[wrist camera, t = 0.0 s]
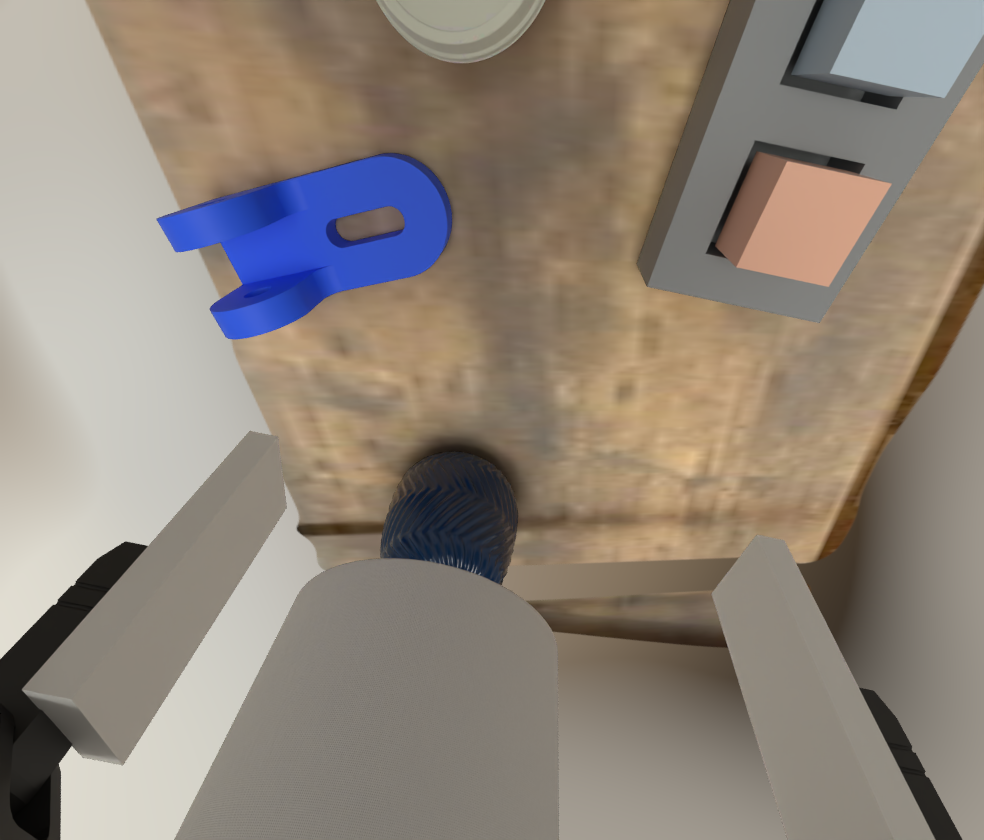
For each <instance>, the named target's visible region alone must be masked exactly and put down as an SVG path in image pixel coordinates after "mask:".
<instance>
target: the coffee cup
mask: <svg viewBox="0 0 984 840" xmlns="http://www.w3.org/2000/svg"><path fill="white" fill-rule="evenodd" d="M376 1H377V3H378V5H379V6H380V8H381V9H382V11H383V13H384V14H385V16H386V17H387V19H388V20H389V22H390V23H391V24H392V25H393V27H394V28H395V29H396V30H397V31H398V32H399V34H400V35H401V36H402V37H403V38H404V39H406V40H407V41H408V42H409V43H410V44H411V45H413V46H414V47H415V48H417V49H418V50H420V51H422V52H423V53H425V54H427V55H429V56H431V57H434V58H436V59H439V60H442V61H446V62H452V63H472V62H477V61H481V60H485V59H487V58H490V57H492V56H495V55H497V54H498V53H500V52H502V51H503V50H505V49H506V48H508V47H509V46H511V45H512V44H513V43H514V42H515V41H516V40H518V39H519V38H520V37H521V36H522V35H523V33H524V32H525V31H526V30H527V29H528V28H529V26H530V25H531V24H532V22H533V21H534V19H535V18H536V16H537V15H538V13H539V12H540V10H541V8H542V6H543V4H544V2H545V0H376Z"/></svg>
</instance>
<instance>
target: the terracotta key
mask: <svg viewBox="0 0 984 840" xmlns="http://www.w3.org/2000/svg"><path fill="white" fill-rule="evenodd" d="M891 185H892V184H891V183H888V182H884V181H881V180H878V179H874V178H871V177H867V176H864V175H860V174H857V173H854V172H850V171H846V170H842V169H837V168H832V167H828V166H823V165H818V164H814V163H809V162H805V161H800V160H795V159H791V158H786V157H781V156H777V155H772V154H767V153H763V152H758V151H757V152H756V154H755V156H754V159H753V161H752V163H751V165H750V168H749V170H748V172H747V174H746V177H745V179H744V181H743V184H742V186H741V188H740V190H739V193H738V195H737V197H736V199H735V202H734V204H733V206H732V208H731V211H730V213H729V215H728V217H727V220H726V222H725V224H724V226H723V229H722V231H721V233H720V235H719V238H718V240H717V242H716V244H715V247H716V248H717V249H718V250H719V251H720V252H721V253H722V254H723V255H724V256H725V257H726V258H727V259H728V260H729V261H730V262H731V263H732V264H733V265H734V266H735V267H737V268H742V269H747V270H751V271H756V272H761V273H765V274H770V275H775V276H780V277H784V278H789V279H794V280H798V281H803V282H808V283H813V284H817V285H822V286H827V287H829V285H830V284H831V282H832V281H833V279H834V277H835V276H836V274H837V272H838V271H839V269H840V268H841V266H842V264H843V263H844V261H845V259H846V258H847V256H848V255H849V253H850V251H851V250H852V248H853V246H854V245H855V243H856V242H857V240H858V238H859V237H860V235H861V233H862V232H863V230H864V229H865V227H866V225H867V224H868V222H869V220H870V219H871V217H872V215H873V214H874V212H875V211H876V209H877V207H878V206H879V204H880V202H881V201H882V199H883V198H884V196H885V194H886V193H887V191H888V189H889V188H890V186H891Z"/></svg>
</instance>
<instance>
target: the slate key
mask: <svg viewBox="0 0 984 840" xmlns="http://www.w3.org/2000/svg"><path fill="white" fill-rule="evenodd" d="M983 35H984V0H824V1H823V3H822V5H821V8H820V10H819V12H818V14H817V17H816V19H815V21H814V23H813V26H812V28H811V30H810V32H809V35H808V37H807V39H806V41H805V44H804V46H803V48H802V51H801V53H800V55H799V57H798V60H797V62H796V64H795V66H794V69H793V71H792V73H791V75H794V76H798V77H803V78H807V79H812V80H817V81H821V82H826V83H830V84H835V85H839V86H844V87H849V88H853V89H858V90H862V91H867V92H872V93H876V94H881V95H885V96H894V97H925V98H945V97H946V95H947V93H948V92H949V90H950V88H951V87H952V85H953V84H954V82H955V80H956V79H957V77H958V75H959V74H960V72H961V71H962V69H963V67H964V66H965V64H966V62H967V61H968V59H969V58H970V56H971V54H972V53H973V51H974V49H975V48H976V46H977V45H978V43H979V41H980V40H981V38H982V36H983Z"/></svg>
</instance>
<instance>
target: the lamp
mask: <svg viewBox="0 0 984 840" xmlns="http://www.w3.org/2000/svg"><path fill="white" fill-rule="evenodd" d="M517 523H518V510H517V506H516V498H515V497H514V491H513V490H512V489H511V484H510V483H508V482H507V478H506V477H505V476H503V475H502V473H501V471H500V470H497V469H496V466H495V465H494V464H490V463H489V461H488V460H485V459H481V458H480V457H479V456H474V455H472V454H470V453H463V452H443V453H437V454H434V455H431V456H428V457H426V458H424V459H423V460H421V461H419V462H417V463H416V464H415V465H413V466H412V467H411V468H410V469H409V470H408V472H407V473H406V474H405V475H404V477H403V478H402V481H401V482H400V483H399V484H398V487H397V490H396V492H395V493H394V495H393V500H392V502H391V503H390V506H389V512H388V514H387V517H386V520H385V523H384V528H383V533H382V539H381V550H380V552H381V553H380V557H381V558H380V559H368V560H361V561H355V562H350V563H346V564H342V565H339V566H336V567H333V568H331V569H329V570H326V571H324V572H322V573H320V574H319V575H317V576H315V577H314V578H313V579H311V580H310V581H309V582H308V583H307V584H306V585H305V586H304V587H303V588H302V589H301V591H300V592H299V594H298V595H297V597H296V599H295V601H294V603H293V605H292V607H291V609H290V611H289V613H288V615H287V617H286V619H285V621H284V623H283V625H282V627H281V629H280V631H279V633H278V635H277V637H276V639H275V641H274V643H273V645H272V647H271V649H270V651H269V653H268V655H267V657H266V659H265V661H264V663H263V665H262V667H261V669H260V671H259V673H258V675H257V677H256V679H255V681H254V683H253V685H252V687H251V689H250V690H249V692H248V694H247V696H246V698H245V700H244V702H243V704H242V706H241V708H240V710H239V712H238V714H237V717H236V718H235V720H234V722H233V724H232V726H231V728H230V730H229V732H228V734H227V737H226V738H225V740H224V742H223V744H222V746H221V748H220V750H219V752H218V754H217V756H216V758H215V760H214V762H213V764H212V766H211V768H210V770H209V772H208V774H207V776H206V778H205V780H204V782H203V784H202V786H201V788H200V790H199V792H198V794H197V796H196V797H195V800H194V801H193V803H192V805H191V807H190V810H189V811H188V813H187V815H186V817H185V819H184V822H183V823H182V825H181V827H180V829H179V832H178V833H177V835H176V837H175V839H174V840H559V790H558V789H559V784H558V783H559V780H558V650H557V643H556V640H555V637H554V635H553V633H552V630H551V628H550V627H549V625H548V624H547V622H546V621H545V620H544V618H543V617H542V616H541V615H540V614H539V613H538V612H537V611H536V610H535V609H534V608H533V607H532V606H531V605H530V604H529V603H527V602H526V601H525V600H524V599H522V598H521V597H519V596H518V595H516V594H515V593H513V592H512V591H510V590H508V589H507V588H505V587H503V586H501V585H502V582H503V578H504V577H505V575H506V574H507V567H508V566H509V564H510V562H511V555H512V553H513V546H514V542H515V539H516V532H517Z"/></svg>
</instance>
